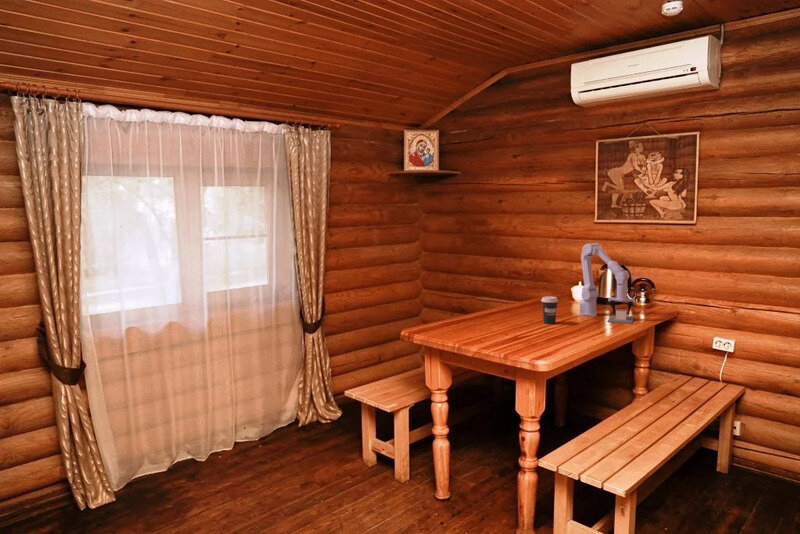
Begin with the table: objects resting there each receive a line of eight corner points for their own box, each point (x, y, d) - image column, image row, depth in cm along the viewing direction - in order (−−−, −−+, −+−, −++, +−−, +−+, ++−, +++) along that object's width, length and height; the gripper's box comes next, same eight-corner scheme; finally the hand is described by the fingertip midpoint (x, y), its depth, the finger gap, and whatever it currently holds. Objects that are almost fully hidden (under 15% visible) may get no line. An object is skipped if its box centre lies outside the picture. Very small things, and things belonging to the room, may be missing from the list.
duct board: (607, 322, 331) (607, 314, 331) (611, 316, 347) (611, 309, 347) (631, 323, 326) (632, 316, 325) (634, 317, 342) (634, 310, 341)
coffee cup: (539, 324, 330) (539, 298, 328) (543, 320, 339) (543, 295, 337) (555, 325, 326) (556, 299, 324) (559, 322, 334) (559, 296, 332)
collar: (615, 319, 335) (615, 311, 334) (616, 317, 340) (616, 309, 339) (626, 320, 333) (626, 311, 332) (626, 318, 338) (626, 309, 337)
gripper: (608, 291, 334) (607, 314, 336) (634, 292, 328) (634, 316, 329) (609, 289, 340) (608, 312, 342) (635, 291, 334) (635, 313, 336)
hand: (621, 314), depth 336 cm, fingers open, 7 cm apart
